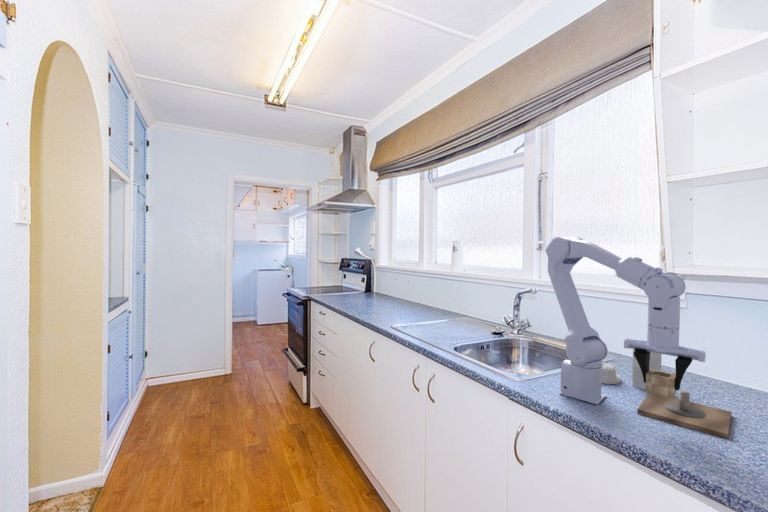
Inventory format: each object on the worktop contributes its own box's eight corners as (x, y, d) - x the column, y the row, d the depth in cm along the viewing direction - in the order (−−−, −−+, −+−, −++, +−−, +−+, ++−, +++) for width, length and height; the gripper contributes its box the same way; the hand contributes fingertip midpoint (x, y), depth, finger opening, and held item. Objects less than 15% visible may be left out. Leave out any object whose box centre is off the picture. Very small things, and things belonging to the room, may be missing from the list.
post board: (637, 413, 88) (637, 391, 87) (649, 395, 98) (650, 375, 98) (727, 438, 76) (728, 413, 76) (731, 415, 86) (731, 393, 86)
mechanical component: (599, 371, 117) (575, 375, 114) (599, 358, 117) (575, 361, 114) (628, 382, 108) (603, 386, 105) (628, 368, 108) (604, 372, 104)
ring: (645, 391, 82) (646, 373, 82) (650, 385, 85) (650, 368, 85) (673, 398, 78) (674, 379, 78) (677, 391, 82) (677, 374, 81)
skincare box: (646, 383, 107) (647, 343, 106) (661, 388, 103) (662, 347, 102) (631, 385, 105) (632, 345, 105) (645, 391, 101) (646, 349, 101)
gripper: (621, 323, 84) (619, 380, 84) (704, 335, 73) (701, 400, 74) (628, 319, 89) (627, 373, 89) (707, 329, 78) (705, 390, 79)
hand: (661, 385), depth 82 cm, fingers closed on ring, 5 cm apart
